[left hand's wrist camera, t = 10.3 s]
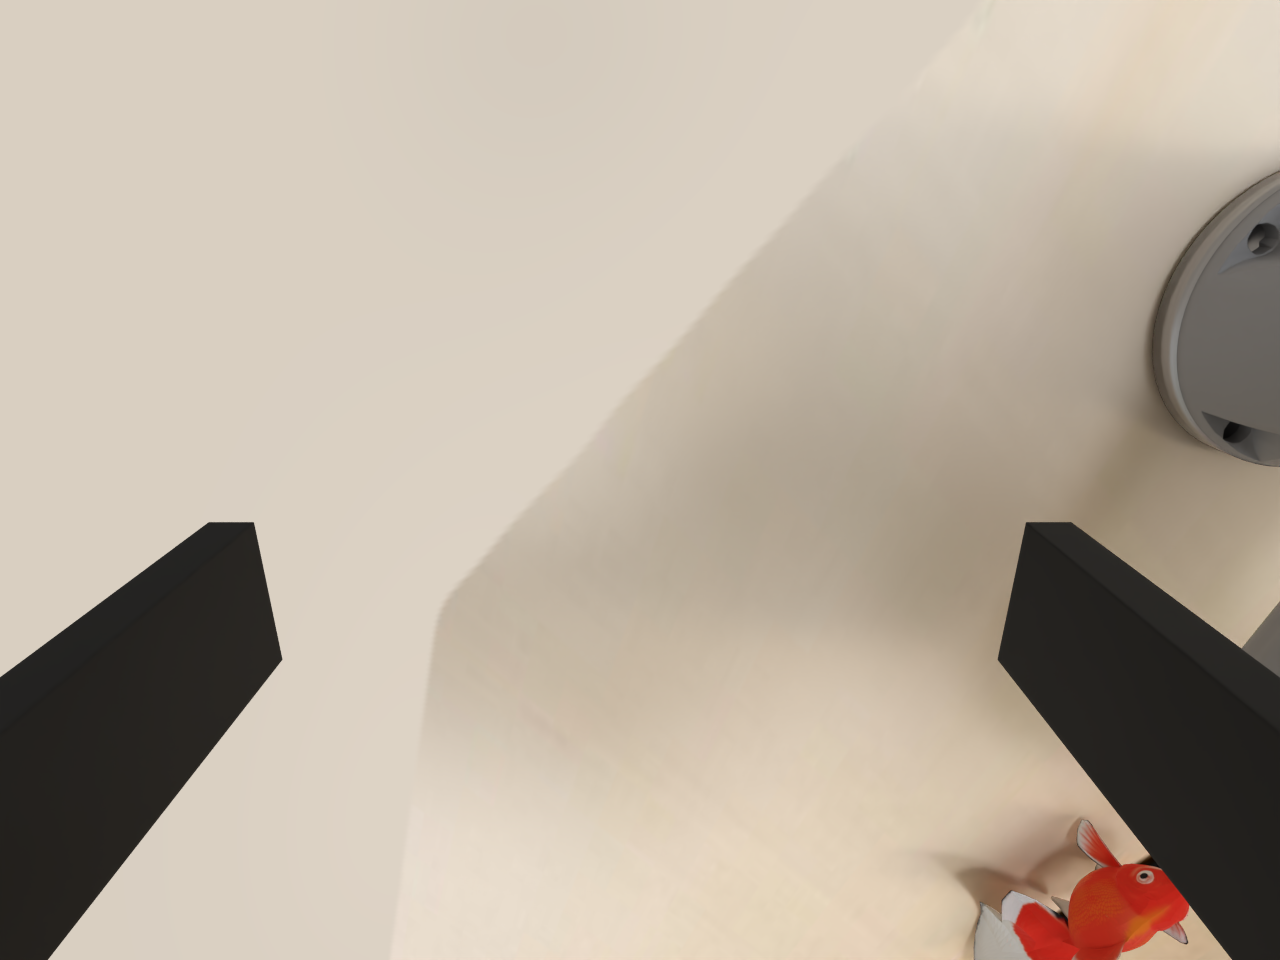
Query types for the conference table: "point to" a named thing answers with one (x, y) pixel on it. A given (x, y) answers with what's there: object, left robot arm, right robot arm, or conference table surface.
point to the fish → (1085, 913)
